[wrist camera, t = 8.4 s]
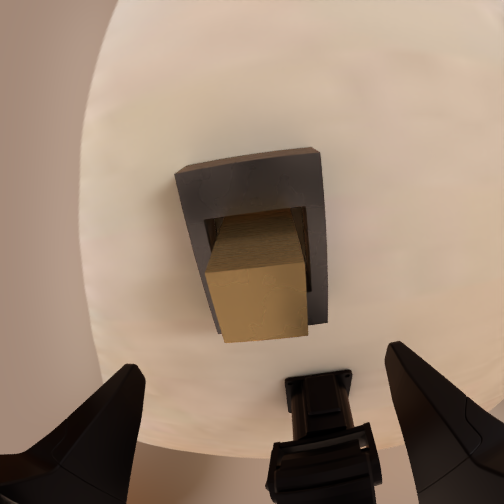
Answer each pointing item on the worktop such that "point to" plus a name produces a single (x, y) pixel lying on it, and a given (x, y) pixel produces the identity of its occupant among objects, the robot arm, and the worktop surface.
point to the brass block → (258, 277)
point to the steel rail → (259, 208)
